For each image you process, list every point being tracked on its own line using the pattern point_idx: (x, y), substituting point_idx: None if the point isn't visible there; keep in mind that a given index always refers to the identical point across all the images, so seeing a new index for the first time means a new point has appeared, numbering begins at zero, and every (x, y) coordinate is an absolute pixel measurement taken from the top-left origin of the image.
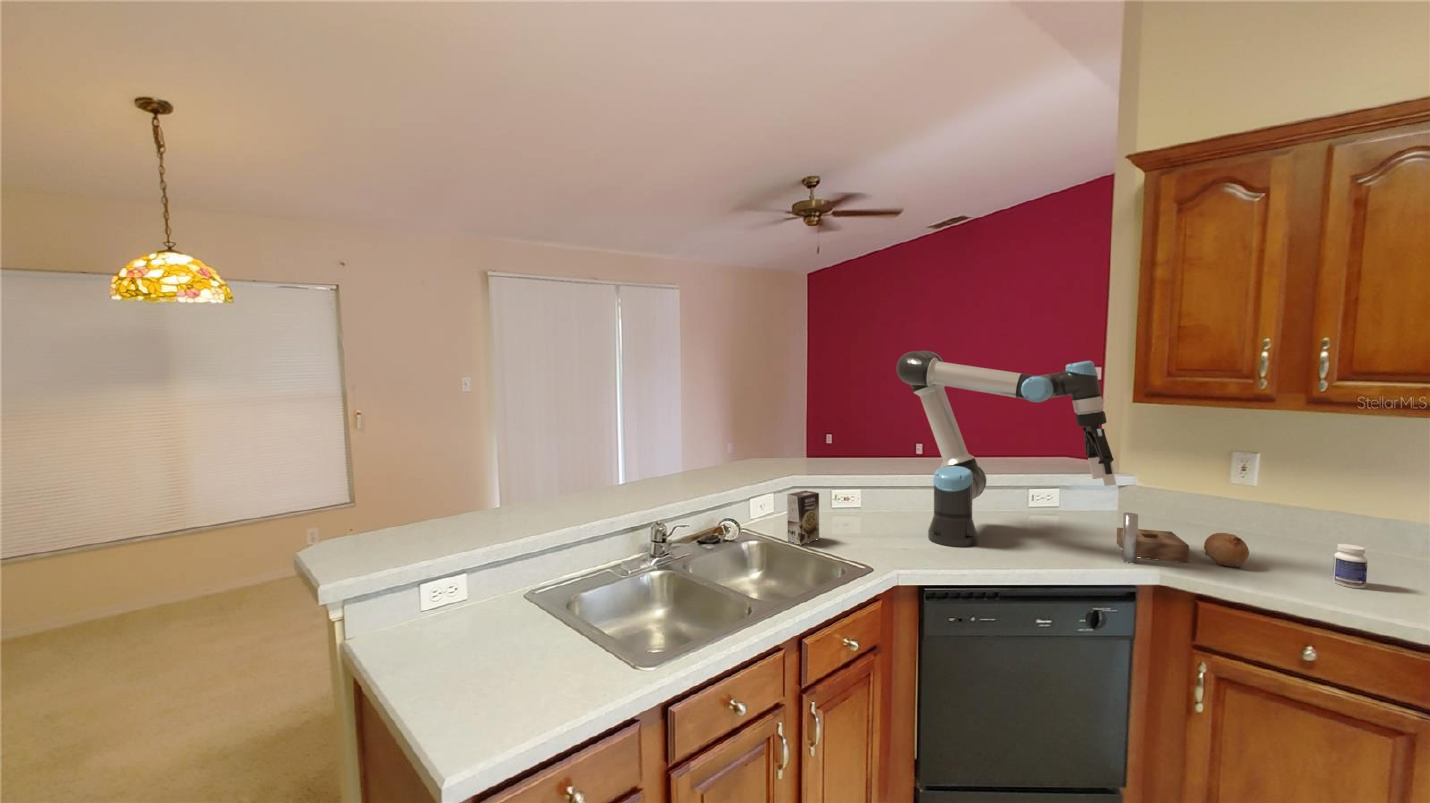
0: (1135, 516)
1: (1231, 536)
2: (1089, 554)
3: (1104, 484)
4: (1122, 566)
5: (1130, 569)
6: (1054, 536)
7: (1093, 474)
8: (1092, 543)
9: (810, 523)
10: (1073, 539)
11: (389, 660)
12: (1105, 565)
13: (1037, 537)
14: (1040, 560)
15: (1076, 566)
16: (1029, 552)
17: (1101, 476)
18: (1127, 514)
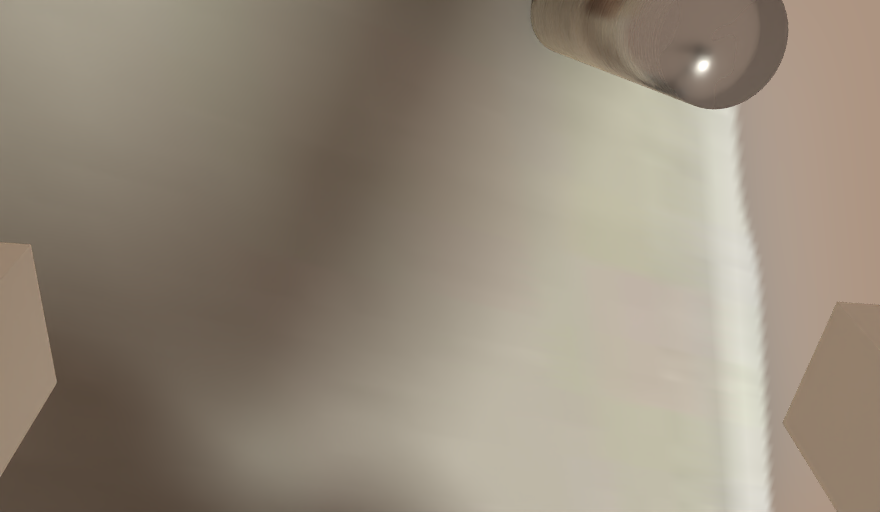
0: (782, 19)
1: None
2: (461, 210)
3: (793, 434)
4: None
5: None
6: (94, 321)
7: (16, 424)
8: (196, 117)
9: None
10: (130, 218)
11: None
12: (654, 183)
13: (158, 424)
14: (609, 475)
15: (684, 334)
16: (484, 504)
17: (24, 282)
18: (744, 85)
